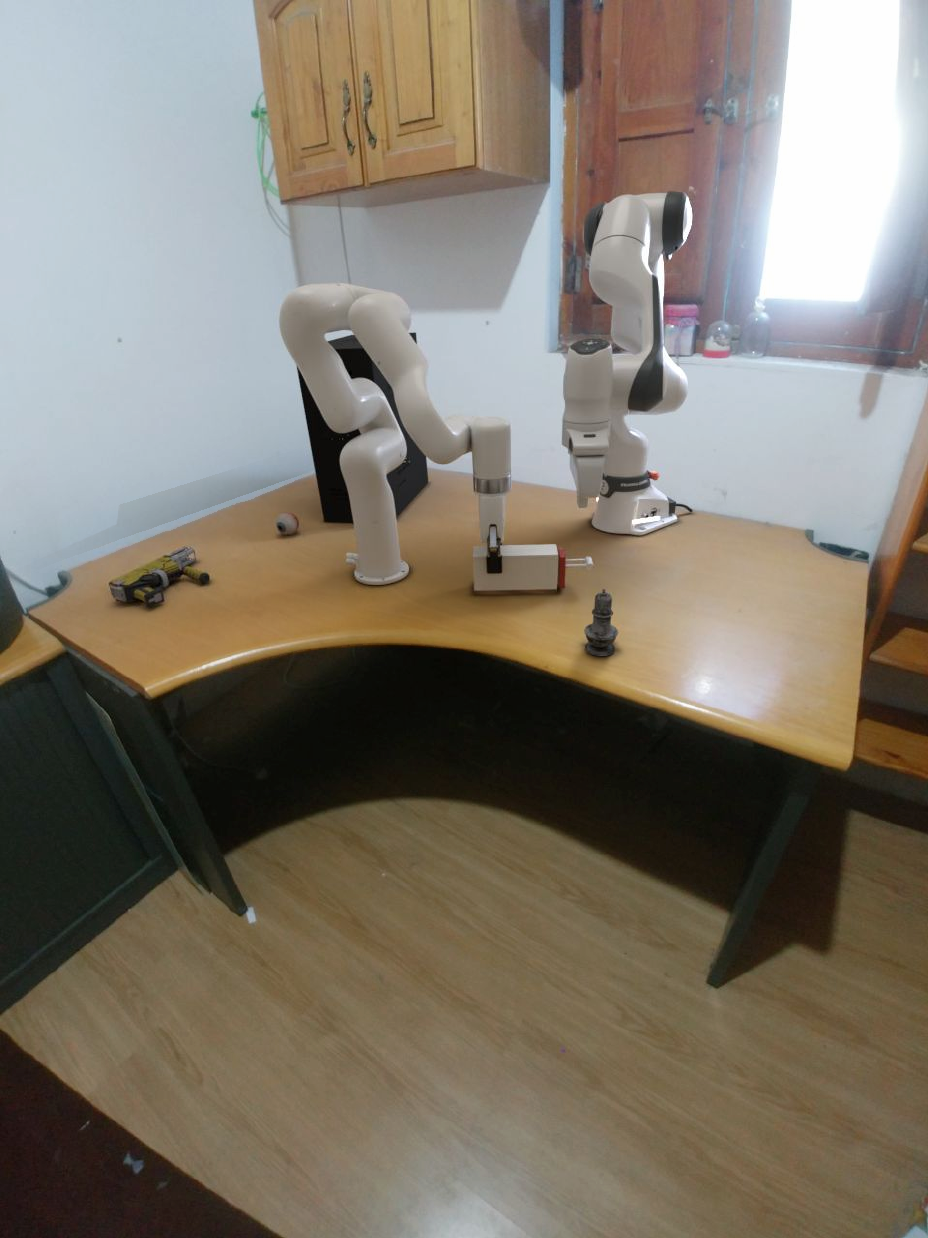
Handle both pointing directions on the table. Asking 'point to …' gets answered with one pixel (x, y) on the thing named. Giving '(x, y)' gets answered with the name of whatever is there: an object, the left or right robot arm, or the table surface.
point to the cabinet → (517, 570)
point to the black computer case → (330, 444)
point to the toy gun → (155, 578)
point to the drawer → (570, 566)
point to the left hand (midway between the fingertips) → (494, 565)
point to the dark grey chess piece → (601, 627)
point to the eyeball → (287, 523)
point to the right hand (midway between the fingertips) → (581, 505)
